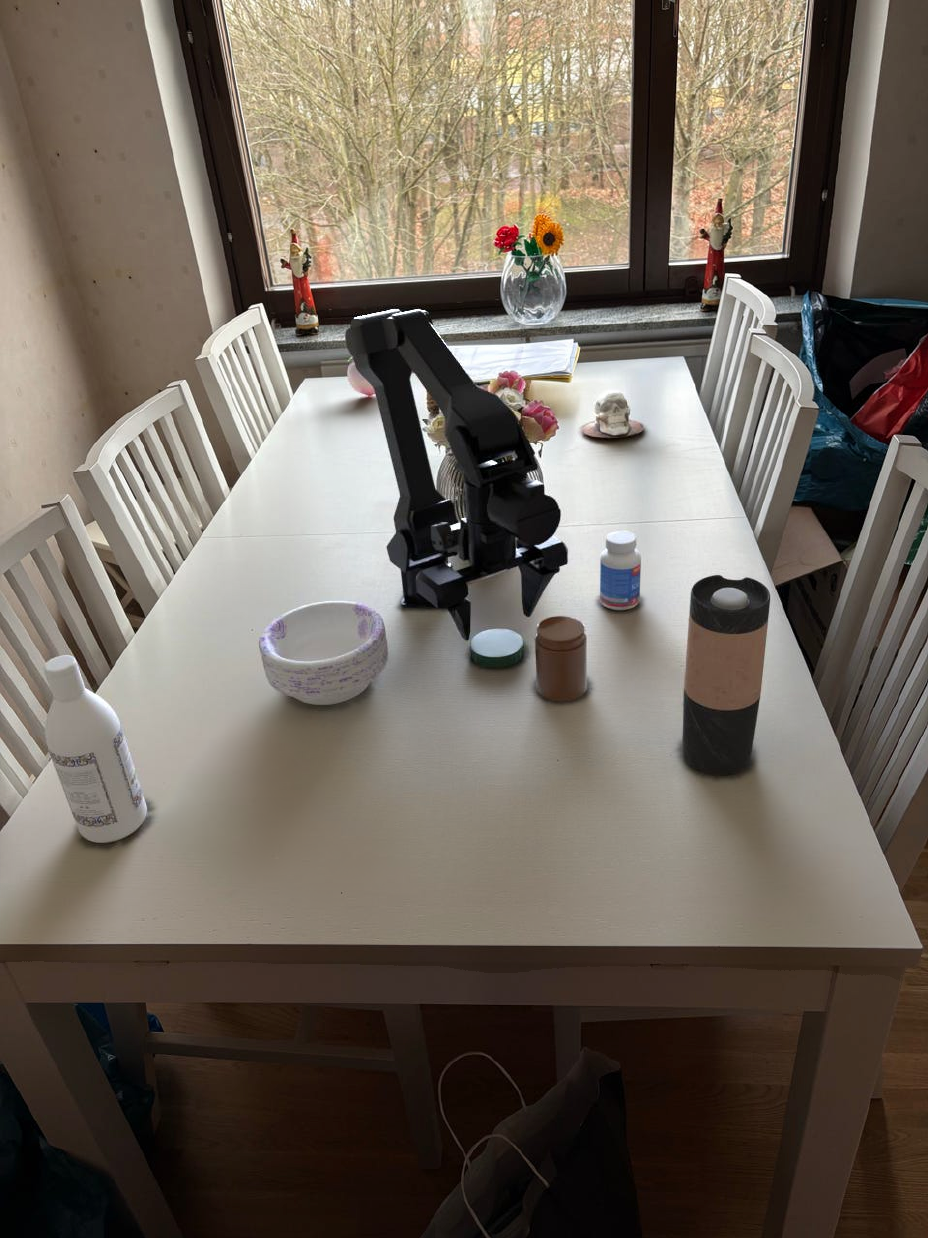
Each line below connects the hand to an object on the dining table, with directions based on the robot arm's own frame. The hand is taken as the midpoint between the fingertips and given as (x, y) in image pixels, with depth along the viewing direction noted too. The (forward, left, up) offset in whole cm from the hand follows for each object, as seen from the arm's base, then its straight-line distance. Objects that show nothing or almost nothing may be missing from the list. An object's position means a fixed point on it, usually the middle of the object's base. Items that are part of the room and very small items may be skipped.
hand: (496, 627), depth 120 cm
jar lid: (0, 0, -3) cm, 3 cm away
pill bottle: (+15, +14, -4) cm, 21 cm away
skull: (+12, +80, -4) cm, 81 cm away
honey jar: (+9, -7, -4) cm, 12 cm away
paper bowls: (-20, -8, -4) cm, 22 cm away
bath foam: (-36, -34, -4) cm, 50 cm away
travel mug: (+26, -18, -4) cm, 32 cm away
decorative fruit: (-43, +103, -4) cm, 112 cm away
